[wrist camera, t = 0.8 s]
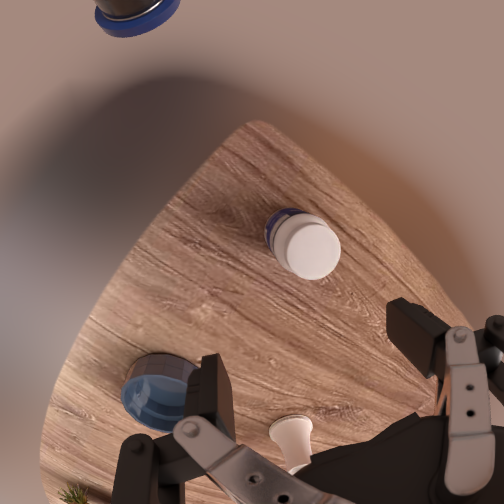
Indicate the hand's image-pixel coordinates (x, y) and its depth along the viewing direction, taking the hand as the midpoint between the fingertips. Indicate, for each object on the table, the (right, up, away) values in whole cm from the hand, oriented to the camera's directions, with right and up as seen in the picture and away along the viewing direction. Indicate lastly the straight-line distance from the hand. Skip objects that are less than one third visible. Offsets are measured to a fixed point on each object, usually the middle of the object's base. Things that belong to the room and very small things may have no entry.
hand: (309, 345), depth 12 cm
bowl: (-15, -15, +24) cm, 32 cm away
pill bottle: (+1, +7, +20) cm, 21 cm away
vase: (+4, -26, +29) cm, 39 cm away
